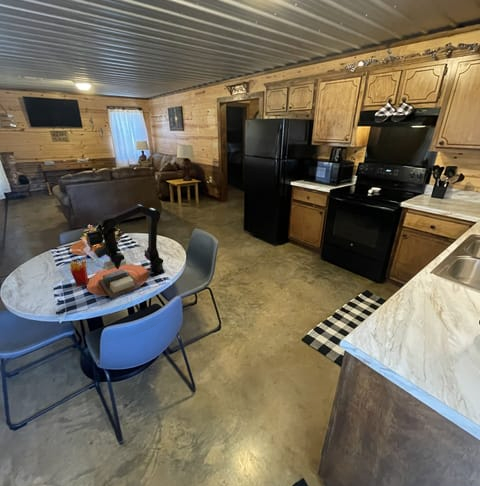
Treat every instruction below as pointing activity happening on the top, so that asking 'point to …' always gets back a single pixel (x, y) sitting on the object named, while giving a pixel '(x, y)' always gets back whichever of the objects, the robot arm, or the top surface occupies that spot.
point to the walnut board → (122, 292)
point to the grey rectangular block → (114, 276)
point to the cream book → (111, 265)
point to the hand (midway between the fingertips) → (115, 266)
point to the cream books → (121, 284)
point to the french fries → (79, 272)
